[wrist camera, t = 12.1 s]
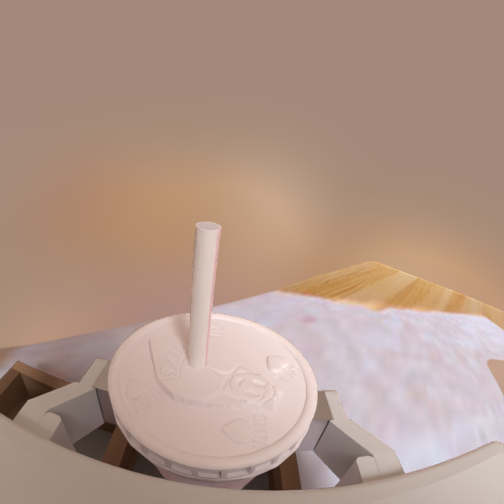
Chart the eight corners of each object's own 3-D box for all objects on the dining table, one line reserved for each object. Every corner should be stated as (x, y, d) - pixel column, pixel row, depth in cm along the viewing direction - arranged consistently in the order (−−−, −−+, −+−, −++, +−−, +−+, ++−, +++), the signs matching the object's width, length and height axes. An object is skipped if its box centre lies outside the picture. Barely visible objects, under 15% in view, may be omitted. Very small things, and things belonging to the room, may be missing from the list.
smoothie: (183, 418, 15) (191, 185, 10) (278, 460, 13) (378, 235, 8) (123, 487, 10) (20, 236, 4) (233, 545, 8) (378, 404, 2)
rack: (-32, 475, 5) (-55, 448, 4) (28, 388, 15) (18, 360, 14) (294, 578, 6) (313, 571, 6) (280, 449, 17) (290, 424, 16)
